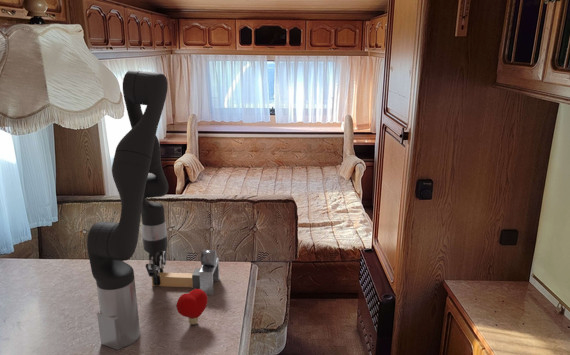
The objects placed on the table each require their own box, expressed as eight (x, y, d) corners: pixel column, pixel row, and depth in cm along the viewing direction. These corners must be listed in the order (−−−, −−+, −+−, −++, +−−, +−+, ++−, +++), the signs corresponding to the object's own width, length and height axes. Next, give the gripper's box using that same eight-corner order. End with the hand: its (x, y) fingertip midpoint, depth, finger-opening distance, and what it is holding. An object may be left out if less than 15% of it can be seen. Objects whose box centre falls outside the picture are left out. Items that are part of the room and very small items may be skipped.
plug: (151, 287, 140) (150, 273, 139) (156, 280, 144) (154, 266, 143) (206, 289, 139) (205, 275, 138) (209, 282, 144) (209, 268, 142)
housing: (200, 294, 136) (198, 257, 133) (208, 278, 146) (206, 243, 142) (212, 294, 136) (211, 258, 132) (219, 278, 146) (218, 244, 142)
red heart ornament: (200, 312, 127) (198, 282, 124) (214, 322, 122) (212, 291, 120) (172, 325, 121) (170, 294, 118) (186, 336, 116) (183, 304, 113)
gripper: (158, 244, 130) (162, 294, 135) (172, 226, 144) (176, 272, 149) (134, 243, 131) (139, 293, 136) (151, 225, 144) (155, 271, 149)
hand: (158, 282), depth 142 cm, fingers closed on plug, 3 cm apart
